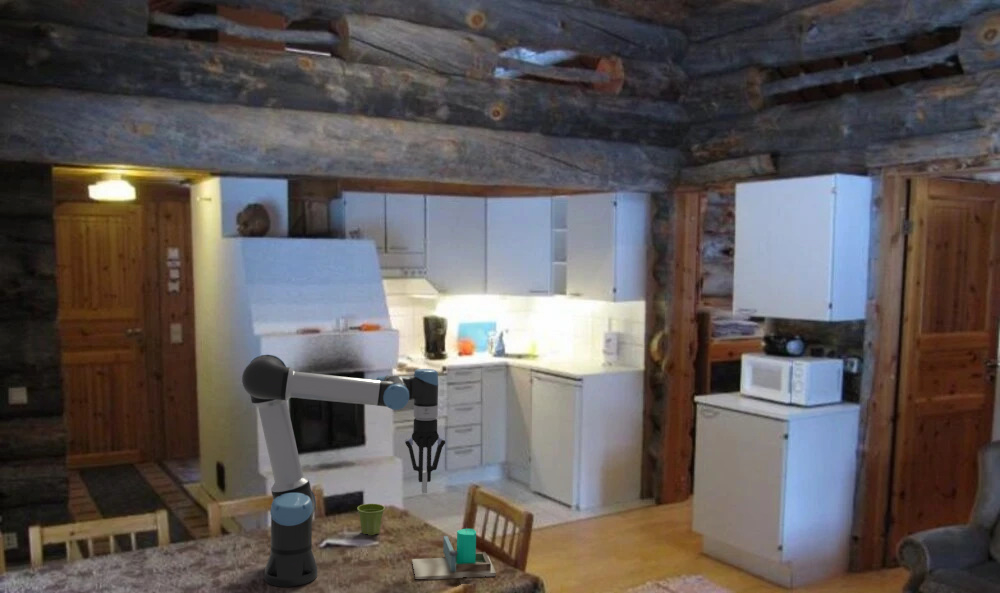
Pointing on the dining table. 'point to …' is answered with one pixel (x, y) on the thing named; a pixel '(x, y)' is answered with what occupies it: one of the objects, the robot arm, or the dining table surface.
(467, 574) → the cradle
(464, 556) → the candle
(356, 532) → the dining table surface
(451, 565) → the keeper
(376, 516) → the plant pot
